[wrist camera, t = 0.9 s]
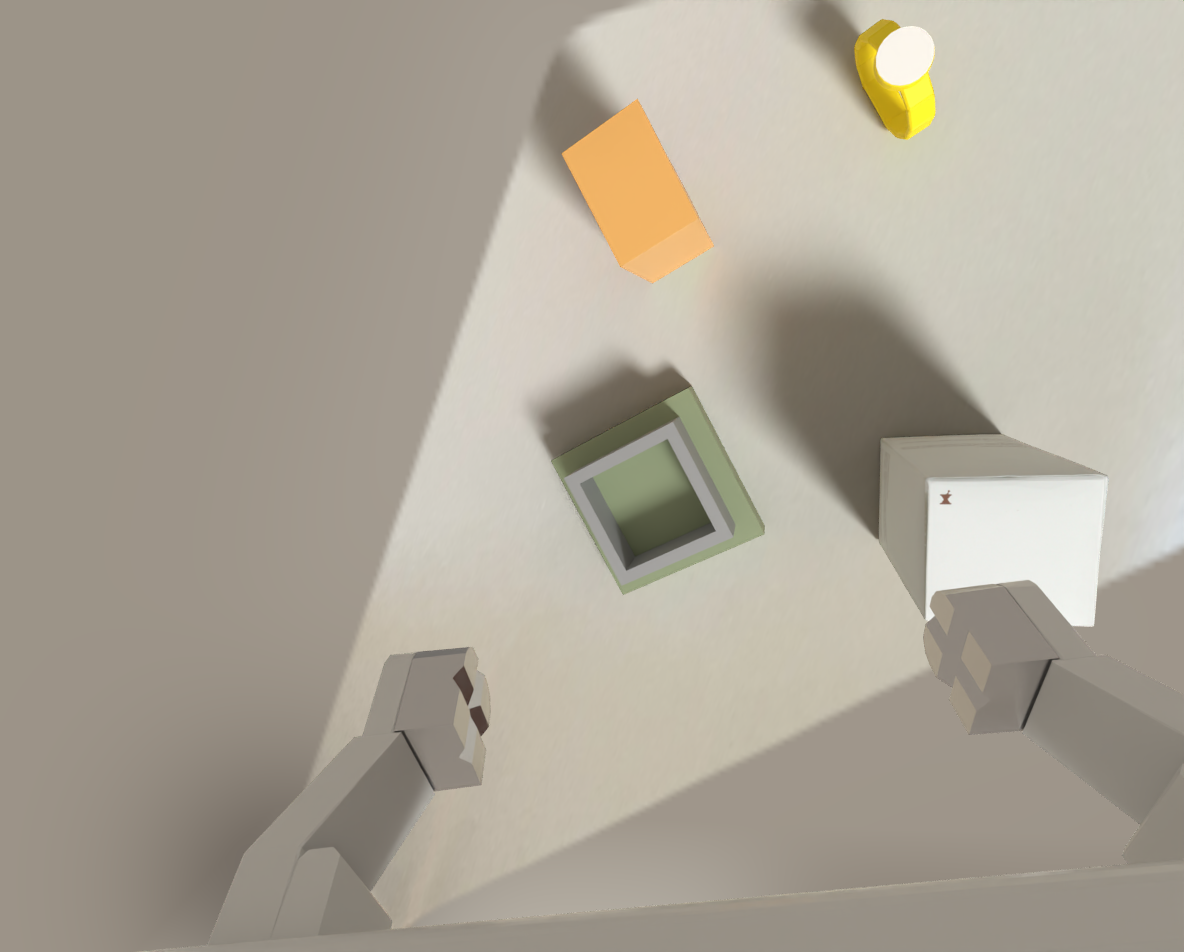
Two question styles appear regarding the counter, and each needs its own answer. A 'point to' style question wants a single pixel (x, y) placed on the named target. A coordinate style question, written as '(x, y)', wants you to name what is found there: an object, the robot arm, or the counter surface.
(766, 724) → the counter surface
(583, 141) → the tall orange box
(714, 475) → the grey-rimmed base plate
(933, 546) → the supplement box
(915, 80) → the watch
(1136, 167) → the counter surface
